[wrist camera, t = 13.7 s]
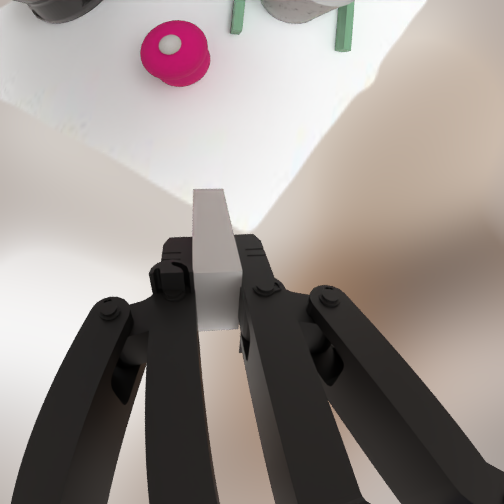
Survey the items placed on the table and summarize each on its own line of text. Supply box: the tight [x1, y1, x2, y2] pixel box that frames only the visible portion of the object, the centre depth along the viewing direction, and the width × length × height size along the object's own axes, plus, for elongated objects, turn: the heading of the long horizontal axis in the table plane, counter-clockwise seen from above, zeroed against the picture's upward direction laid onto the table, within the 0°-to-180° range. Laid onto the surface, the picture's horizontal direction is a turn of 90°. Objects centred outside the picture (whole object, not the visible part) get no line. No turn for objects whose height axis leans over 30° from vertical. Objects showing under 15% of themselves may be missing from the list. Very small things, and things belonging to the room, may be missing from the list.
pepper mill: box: [140, 20, 210, 87], centre depth 23 cm, size 7×7×20 cm
